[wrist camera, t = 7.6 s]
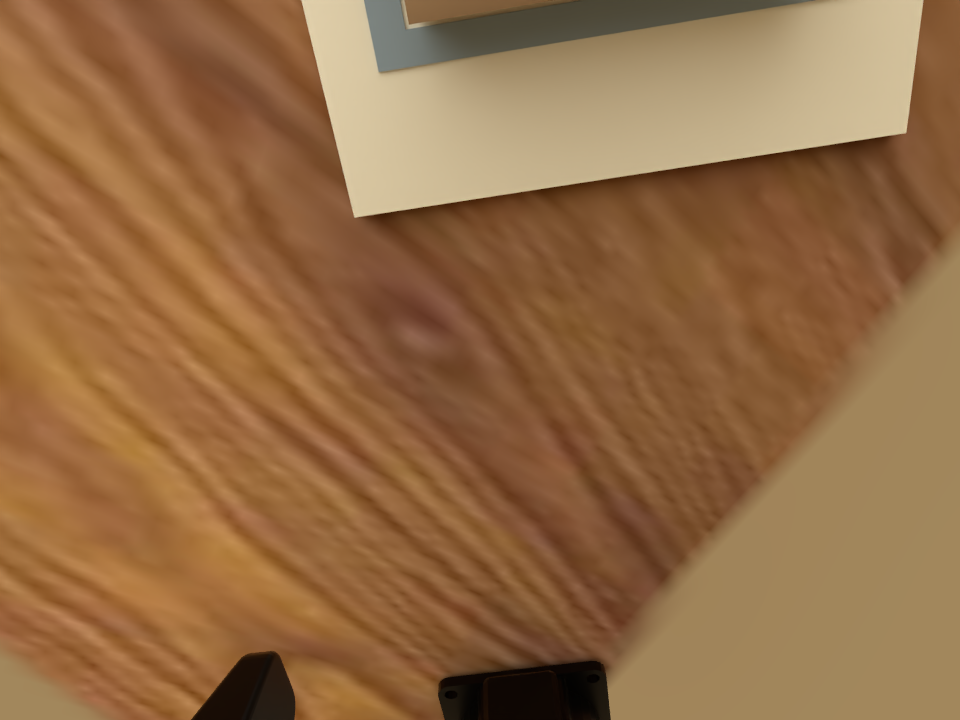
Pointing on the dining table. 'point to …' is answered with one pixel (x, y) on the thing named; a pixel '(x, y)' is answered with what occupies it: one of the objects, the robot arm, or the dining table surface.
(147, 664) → the dining table surface
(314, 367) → the dining table surface
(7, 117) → the dining table surface
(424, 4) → the base block
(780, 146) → the white flat square slab
